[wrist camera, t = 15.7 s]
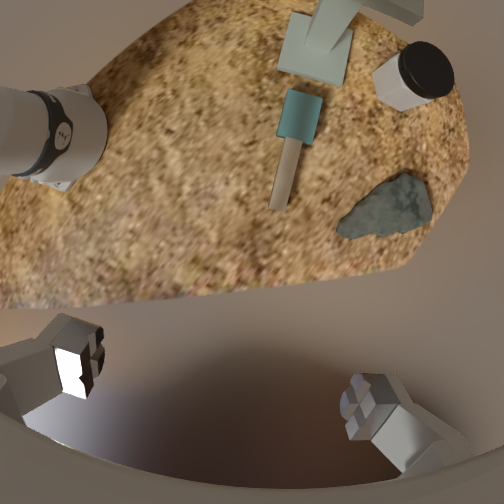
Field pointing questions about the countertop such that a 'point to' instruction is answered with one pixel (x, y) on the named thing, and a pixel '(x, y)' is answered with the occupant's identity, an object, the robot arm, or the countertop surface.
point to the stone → (389, 209)
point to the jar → (414, 77)
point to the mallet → (293, 141)
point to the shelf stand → (333, 36)
